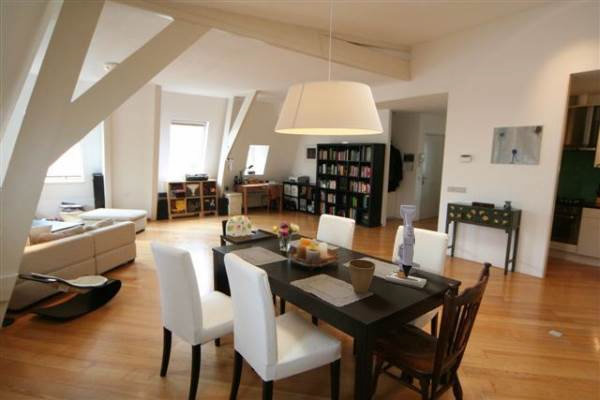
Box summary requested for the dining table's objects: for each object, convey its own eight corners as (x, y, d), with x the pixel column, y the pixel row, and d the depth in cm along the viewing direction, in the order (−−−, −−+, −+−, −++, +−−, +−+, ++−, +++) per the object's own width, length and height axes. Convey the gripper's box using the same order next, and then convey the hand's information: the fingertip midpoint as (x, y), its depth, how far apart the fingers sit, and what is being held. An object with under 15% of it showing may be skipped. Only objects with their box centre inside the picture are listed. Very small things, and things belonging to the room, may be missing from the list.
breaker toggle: (398, 274, 205) (399, 268, 205) (405, 276, 203) (405, 269, 203) (397, 276, 203) (397, 269, 202) (403, 277, 201) (404, 270, 200)
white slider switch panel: (390, 274, 212) (390, 271, 211) (426, 282, 200) (426, 279, 199) (385, 279, 204) (385, 276, 204) (422, 287, 192) (422, 284, 192)
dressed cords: (392, 273, 214) (392, 271, 214) (427, 280, 203) (427, 278, 203) (384, 281, 201) (384, 279, 201) (420, 289, 189) (420, 287, 189)
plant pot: (350, 296, 180) (351, 268, 177) (345, 285, 194) (346, 259, 192) (377, 296, 180) (378, 268, 178) (370, 285, 195) (372, 259, 192)
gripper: (394, 254, 200) (392, 276, 202) (418, 259, 192) (417, 281, 194) (397, 251, 206) (396, 272, 208) (421, 256, 198) (420, 277, 200)
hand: (406, 276), depth 201 cm, fingers closed
